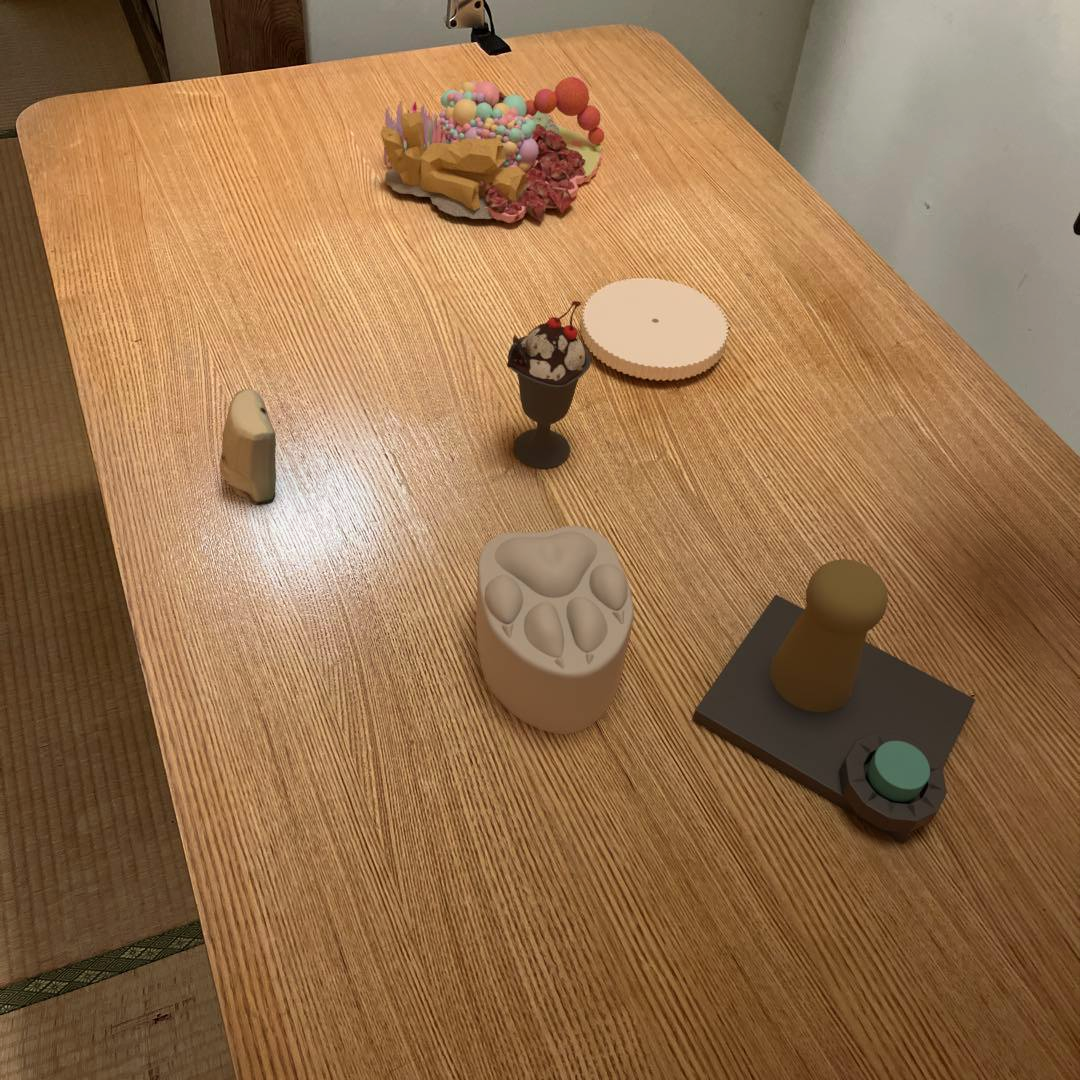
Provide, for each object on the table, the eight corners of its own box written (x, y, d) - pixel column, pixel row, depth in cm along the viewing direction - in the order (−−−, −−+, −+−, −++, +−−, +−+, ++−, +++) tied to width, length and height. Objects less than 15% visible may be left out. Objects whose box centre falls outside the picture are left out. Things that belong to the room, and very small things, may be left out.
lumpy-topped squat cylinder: (599, 582, 84) (611, 506, 78) (641, 723, 76) (659, 651, 69) (467, 597, 82) (468, 520, 76) (496, 744, 74) (500, 672, 67)
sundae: (593, 441, 95) (612, 300, 83) (555, 486, 91) (570, 344, 79) (529, 412, 97) (539, 271, 85) (489, 455, 93) (494, 313, 81)
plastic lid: (750, 340, 106) (755, 319, 104) (669, 409, 98) (673, 388, 96) (635, 281, 111) (638, 260, 109) (550, 342, 103) (552, 321, 102)
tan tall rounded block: (307, 481, 89) (297, 409, 83) (263, 518, 86) (249, 446, 80) (255, 452, 91) (241, 379, 85) (211, 488, 88) (193, 415, 82)
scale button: (929, 772, 72) (938, 759, 70) (910, 812, 69) (918, 799, 68) (879, 744, 73) (887, 730, 71) (858, 782, 71) (866, 769, 69)
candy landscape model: (555, 247, 114) (561, 167, 107) (350, 199, 118) (344, 119, 111) (616, 140, 130) (625, 64, 123) (435, 100, 134) (434, 25, 127)
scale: (978, 714, 78) (994, 691, 76) (909, 860, 70) (925, 839, 68) (771, 605, 84) (780, 580, 81) (686, 728, 76) (693, 704, 73)
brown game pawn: (765, 701, 76) (803, 605, 68) (773, 634, 80) (810, 536, 72) (851, 721, 75) (900, 626, 67) (855, 653, 79) (901, 556, 71)
